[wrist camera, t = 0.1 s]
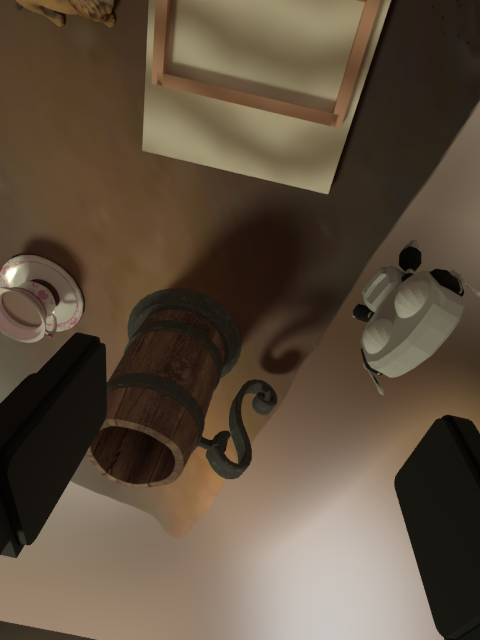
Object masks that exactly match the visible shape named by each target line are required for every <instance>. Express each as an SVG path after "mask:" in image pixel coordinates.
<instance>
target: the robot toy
mask: <svg viewBox="0 0 480 640" xmlns="http://www.w3.org/2000/svg"><path fill="white" fill-rule="evenodd" d="M417 248H418V244H417V242H416V241H415V240H412V241H411V242H410V243H409V244H407V245H406V246H405V247H404V248H403V250H402V251H401V253H400V255H399V266H400V267H401V268H402V269H403V270H404V271H405V273H404V272H402V271H400V270H398V269H397V268H395V267H387V268H386V267H382V268H381V269H380V270H378V272H377V273H376V274H375V275H374V276H373V277H372V278H371V279H370V281H369V282H368V283H367V285H366V286H365V287H364V289H363V291H362V294H363V297H364V302H365V304H366V305H367V306H365V305H360V304H358V305H356V307H355V308H354V310H353V312H352V316H353V317H354V318H357V319H358V320H361V321H364V322H368V324H367V326H366V327H365V329H364V332H363V335H362V338H361V341H360V342H361V345H362V348H361V352H362V356H363V360H364V364H363V366H364V368H365V369H367V370H368V372H369V374H370V376H371V377H372V379H373V381H374V383H375V385H376V386H377V388H378V391H379V393H380V394H382V395H384V391H383V389H382V388H381V387H380V385H379V383H378V382H377V380H376V378H375V376H374V375H373V373H372V372H374V373H376V374H378V375H382V374H385V375H387V376H388V377H391V378H392V377H397V376H400V375H402V374H404V373H406V372H408V371H410V370H411V369H413V368H415V367H416V366H418V365H419V364H420V363H422V362H423V361H425V360H426V359H427V358H428V357H430V356H431V355H432V354H434V352H435V351H436V350H437V349H438V348H439V347H440V346H441V345H442V343H443V342H444V341H445V340H446V339H447V337H448V336H449V335H450V334H451V333H452V331H453V330H454V328H455V327H456V326H457V324H458V323H459V321H460V319H461V317H462V312H463V309H464V306H465V302H464V301H463V299H462V296H463V294H464V290H463V287H462V283H461V281H462V282H463V283H464V284H466V285H467V286H468V287H469V288H470V289H471V290H473V291H474V292H475V293H476V294H477V295H478V296H479V297H480V292H479V291H478V290H476V289H475V288H474V287H473V286H472V285H470V284H469V283H468V282H467V281H465V280H464V279H463V278H462V277H461V275H460V274H459V273H458V272H456V271H455V270H452V271H451V272H448V271H447V270H441V269H435V270H433V271H431V272H430V271H421V272H419V273H416V274H414V272H415V271H416V270H417V268H418V267H419V266H420V264H421V252H420V251H419V250H418V249H417ZM460 280H461V281H460Z"/></svg>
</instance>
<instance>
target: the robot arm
mask: <svg viewBox="0 0 480 640" xmlns="http://www.w3.org/2000/svg"><path fill="white" fill-rule="evenodd" d="M106 415H107V382H106V347H105V344H103V343H100V339H99V337H96V336H92V335H87V334H83V333H75V334H74V335H73V336H72V337H71V338H70V339H69V340H68V341H67V342H66V343H65V344H64V345H63V346H62V347H61V348H60V349H59V350H58V351H57V353H56V354H55V355H54V356H53V357H52V358H51V359H50V360H49V361H48V362H47V363H46V364H45V365H44V366H43V367H42V368H41V369H40V370H39V371H38V372H37V373H33V374H31V375H29V376H28V377H26V378H25V379H24V380H23V381H22V382H21V383H20V384H19V385H18V386H17V387H16V388H15V389H14V390H13V391H12V392H11V393H10V394H9V395H8V396H7V397H6V398H5V399H4V400H3V401H2V402H1V404H0V555H5V556H9V557H14V558H17V557H18V555H19V553H20V552H21V550H22V548H23V547H24V545H31V544H32V543H33V542H34V540H35V539H36V538H37V536H38V534H39V533H40V531H41V529H42V528H43V526H44V524H45V523H46V520H47V519H48V517H49V516H50V514H51V512H52V510H53V509H54V507H55V505H56V504H57V502H58V500H59V499H60V497H61V495H62V493H63V492H64V490H65V488H66V486H67V485H68V483H69V481H70V480H71V478H72V476H73V475H74V473H75V471H76V470H77V468H78V466H79V464H80V463H81V461H82V459H83V458H84V456H85V454H86V452H87V451H88V449H89V447H90V446H91V444H92V442H93V440H94V439H95V437H96V435H97V434H98V432H99V430H100V428H101V427H102V425H103V423H104V421H105V419H106ZM394 484H395V490H396V493H397V497H398V500H399V504H400V507H401V511H402V514H403V517H404V521H405V524H406V528H407V531H408V534H409V538H410V541H411V545H412V548H413V551H414V555H415V558H416V562H417V565H418V569H419V572H420V575H421V579H422V582H423V585H424V589H425V592H426V596H427V599H428V602H429V606H430V609H431V613H432V616H433V619H434V623H435V626H436V628H437V630H438V632H439V633H440V634H441V636H443V637H444V640H480V433H479V431H478V430H477V429H476V427H475V425H474V424H473V422H472V421H470V420H469V419H465V418H460V417H456V416H451V415H445V416H443V417H442V418H441V419H437V420H436V421H435V422H434V423H433V425H432V426H431V427H430V429H429V430H428V431H427V433H426V434H425V436H424V437H423V438H422V440H421V441H420V443H419V444H418V445H417V447H416V448H415V450H414V451H413V452H412V454H411V455H410V457H409V458H408V459H407V461H406V462H405V463H404V465H403V466H402V468H401V469H400V470H399V472H398V473H397V475H396V477H395V482H394ZM0 640H95V639H90V638H85V637H81V636H76V635H71V634H66V633H60V632H55V631H50V630H44V629H40V628H34V627H29V626H24V625H19V624H14V623H8V622H3V621H0Z"/></svg>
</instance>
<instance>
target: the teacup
mask: <svg viewBox="0 0 480 640" xmlns="http://www.w3.org/2000/svg"><path fill="white" fill-rule="evenodd" d="M34 279H41V280H44V281H47V282H48V283H50V284H51V285H52V286H53V287H54V288H55V289H56V290H57V292H58V294H59V297H60V300H59V304H58V306H57V307H55V300H54V297H53V295H52V293H51V291H50V290H49V289H48V288H46V287H45V286H43V285H41V284H39V283H36V282H30V281H31V280H34ZM83 308H84V301H83V298H82V294H81V291H80V289H79V287H78V286H77V284H76V282H75V281H74V279H73V278H72V277H71V276H70V275H69V274H68V273H67V272H66V271H65V270H64V269H63V268H62V267H60V266H59V265H57V264H55V263H54V262H52V261H51V260H48V259H45V258H42V257H39V256H36V255H20V256H17V257H14V258H11V259H10V260H9V261H8V262H6V263H5V264H4V265H3V266H2V269H1V272H0V332H1V333H3V334H4V335H6V336H8V337H10V338H12V339H14V340H17V341H21V342H27V343H31V342H36V341H39V340H40V339H41V338H42V337H43V336H44V335H47V337H51V338H52V337H53V336H52V335H53V334H54V333H55V332H56V331H63V330H67V329H70V328H72V327H73V326H74V325H76V324H77V323H78V322H79V320H80V318H81V316H82V315H83Z"/></svg>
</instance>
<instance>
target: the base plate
mask: <svg viewBox="0 0 480 640" xmlns="http://www.w3.org/2000/svg"><path fill="white" fill-rule="evenodd" d="M390 2H391V0H149V10H148V33H147V56H146V79H145V102H144V125H143V148H142V151H147V152H151V153H155V154H159V155H163V156H168V157H172V158H176V159H180V160H185V161H189V162H193V163H197V164H202V165H206V166H210V167H214V168H219V169H223V170H227V171H231V172H236V173H240V174H244V175H248V176H252V177H257V178H261V179H265V180H269V181H274V182H278V183H282V184H286V185H291V186H295V187H299V188H303V189H308V190H312V191H316V192H320V193H325V194H328V193H329V190H330V187H331V184H332V181H333V178H334V174H335V171H336V168H337V165H338V162H339V159H340V156H341V153H342V150H343V147H344V144H345V141H346V138H347V134H348V131H349V128H350V125H351V122H352V119H353V116H354V113H355V110H356V107H357V104H358V101H359V98H360V95H361V91H362V88H363V85H364V82H365V79H366V76H367V73H368V70H369V67H370V64H371V61H372V58H373V55H374V51H375V48H376V45H377V42H378V39H379V36H380V33H381V30H382V27H383V24H384V21H385V18H386V15H387V11H388V8H389V5H390Z"/></svg>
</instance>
